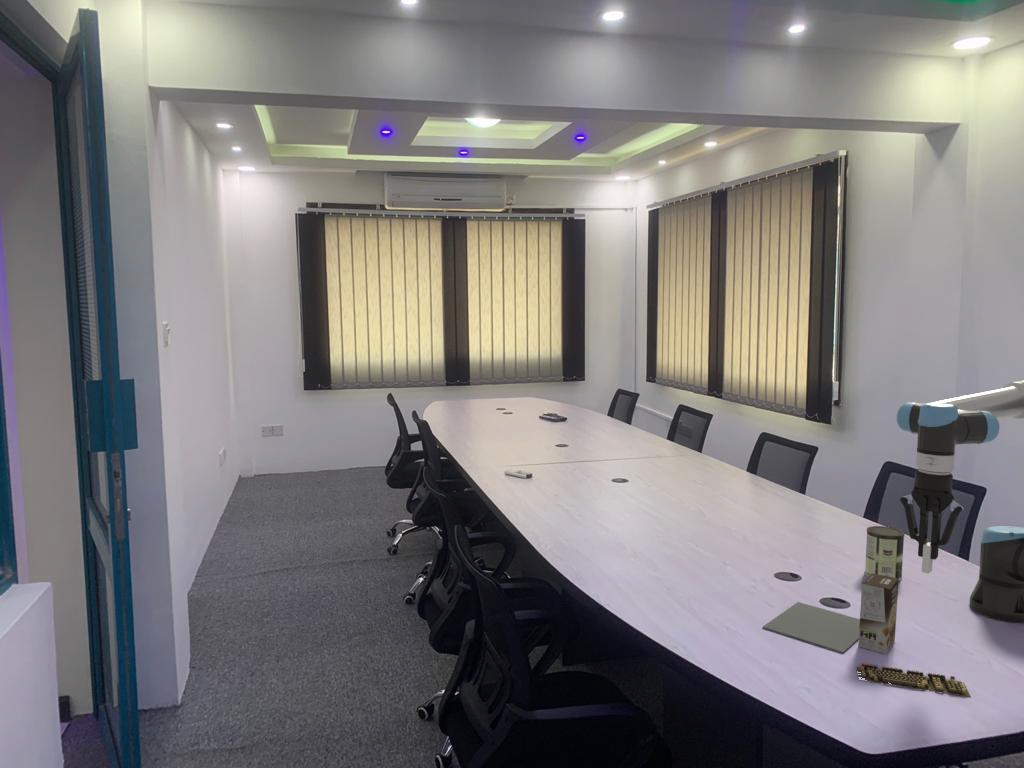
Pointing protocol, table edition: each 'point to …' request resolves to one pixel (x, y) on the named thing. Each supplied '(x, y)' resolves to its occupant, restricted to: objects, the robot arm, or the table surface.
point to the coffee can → (884, 551)
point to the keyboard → (913, 680)
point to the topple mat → (817, 627)
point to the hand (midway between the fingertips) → (926, 571)
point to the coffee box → (878, 612)
